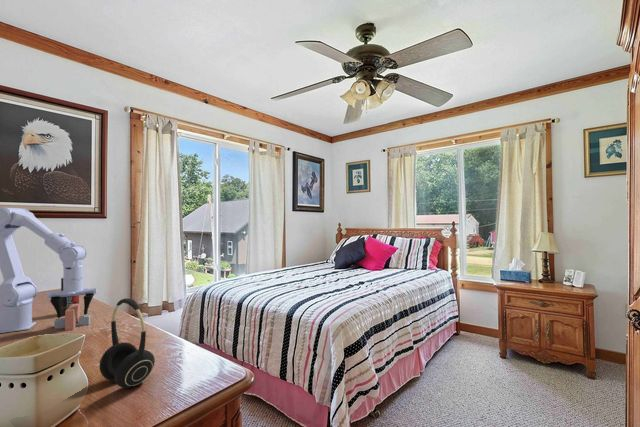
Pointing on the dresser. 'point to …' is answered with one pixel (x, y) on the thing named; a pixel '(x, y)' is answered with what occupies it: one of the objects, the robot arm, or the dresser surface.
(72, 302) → the deodorant
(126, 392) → the dresser surface
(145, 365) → the headphones
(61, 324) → the grey block
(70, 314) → the pink rectangular block
